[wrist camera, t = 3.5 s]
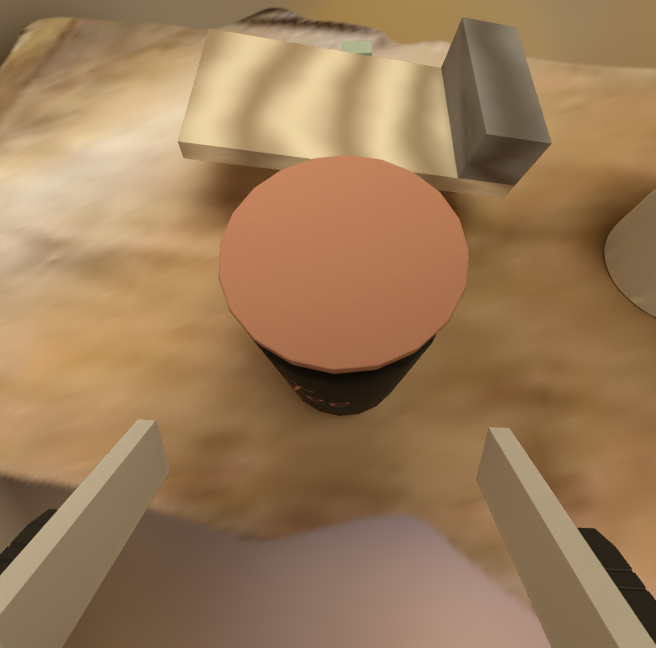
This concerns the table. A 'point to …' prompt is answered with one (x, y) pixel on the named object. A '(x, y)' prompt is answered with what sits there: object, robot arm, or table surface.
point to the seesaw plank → (371, 108)
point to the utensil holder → (635, 254)
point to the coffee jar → (343, 275)
